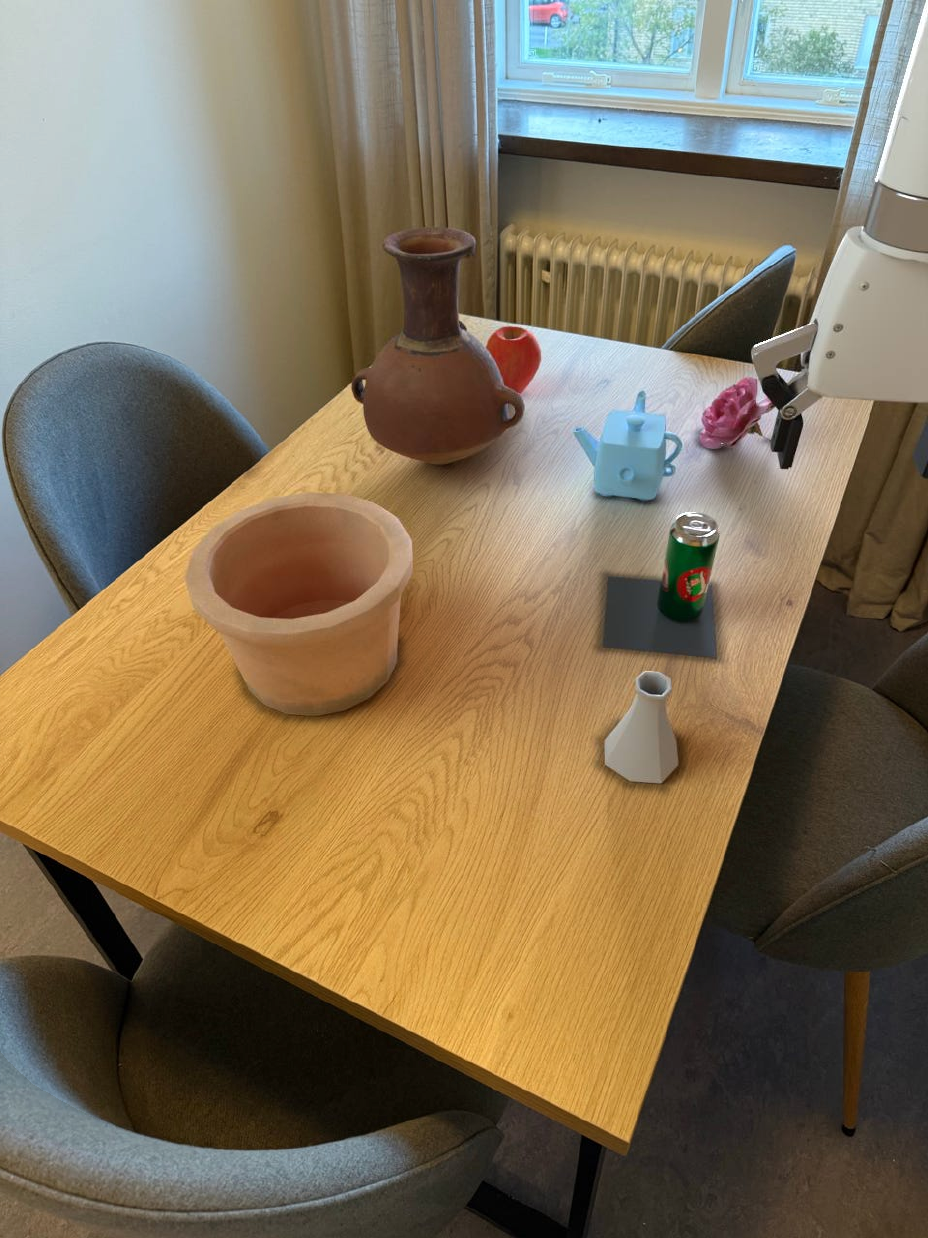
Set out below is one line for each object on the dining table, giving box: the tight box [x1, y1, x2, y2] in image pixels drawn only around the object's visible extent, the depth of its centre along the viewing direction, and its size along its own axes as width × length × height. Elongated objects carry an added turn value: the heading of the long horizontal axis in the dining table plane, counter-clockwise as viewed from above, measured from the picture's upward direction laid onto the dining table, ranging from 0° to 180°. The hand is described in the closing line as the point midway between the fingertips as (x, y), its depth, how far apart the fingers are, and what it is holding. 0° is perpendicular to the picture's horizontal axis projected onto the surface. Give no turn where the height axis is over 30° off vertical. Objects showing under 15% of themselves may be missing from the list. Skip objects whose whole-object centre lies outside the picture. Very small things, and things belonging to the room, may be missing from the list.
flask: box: [604, 670, 679, 784], centre depth 76 cm, size 7×7×10 cm
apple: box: [485, 325, 542, 395], centre depth 129 cm, size 9×8×11 cm
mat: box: [602, 575, 717, 659], centre depth 94 cm, size 12×12×1 cm
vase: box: [350, 226, 525, 466], centre depth 109 cm, size 25×20×30 cm
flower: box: [698, 376, 776, 450], centre depth 117 cm, size 11×10×10 cm
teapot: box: [572, 390, 683, 502], centre depth 110 cm, size 18×14×10 cm
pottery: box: [184, 492, 414, 717], centre depth 86 cm, size 22×22×14 cm
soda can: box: [657, 511, 721, 622], centre depth 90 cm, size 5×5×12 cm
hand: (851, 463), depth 61 cm, fingers open, 9 cm apart
